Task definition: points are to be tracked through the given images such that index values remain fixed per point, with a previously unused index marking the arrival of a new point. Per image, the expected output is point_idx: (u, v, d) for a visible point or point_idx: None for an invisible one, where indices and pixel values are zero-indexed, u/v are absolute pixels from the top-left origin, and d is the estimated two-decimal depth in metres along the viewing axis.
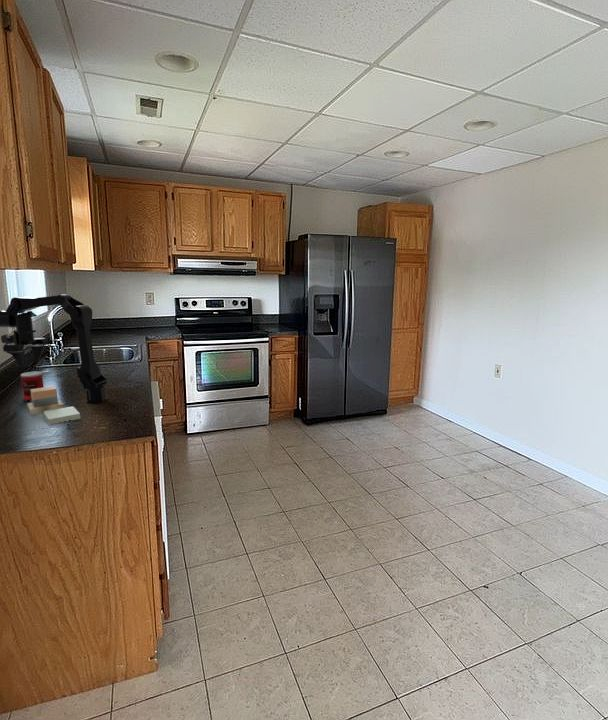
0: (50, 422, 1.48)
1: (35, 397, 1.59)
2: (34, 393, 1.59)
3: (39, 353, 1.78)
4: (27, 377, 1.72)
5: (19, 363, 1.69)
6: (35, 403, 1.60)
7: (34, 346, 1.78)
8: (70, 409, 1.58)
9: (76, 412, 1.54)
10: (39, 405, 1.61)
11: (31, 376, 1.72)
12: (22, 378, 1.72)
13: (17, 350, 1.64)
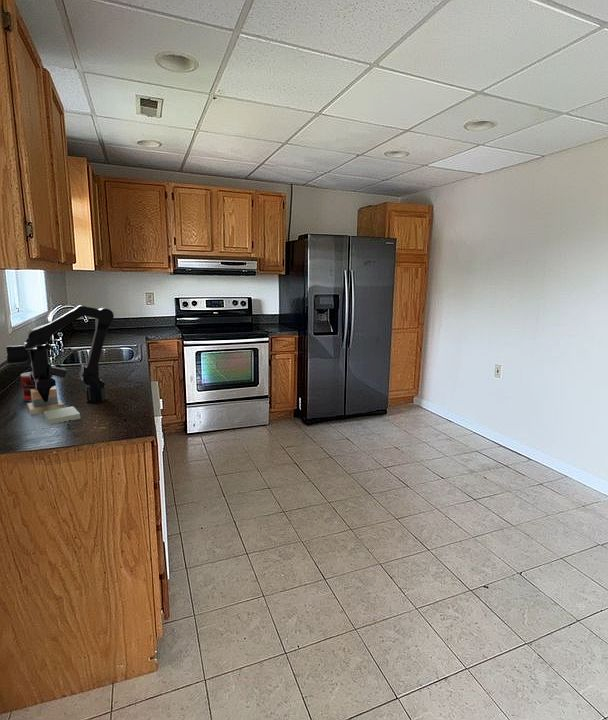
0: (50, 422, 1.48)
1: (35, 397, 1.59)
2: (34, 393, 1.59)
3: None
4: (27, 377, 1.72)
5: None
6: (35, 403, 1.60)
7: None
8: (70, 409, 1.58)
9: (76, 412, 1.54)
10: (39, 405, 1.61)
11: None
12: (22, 378, 1.72)
13: None
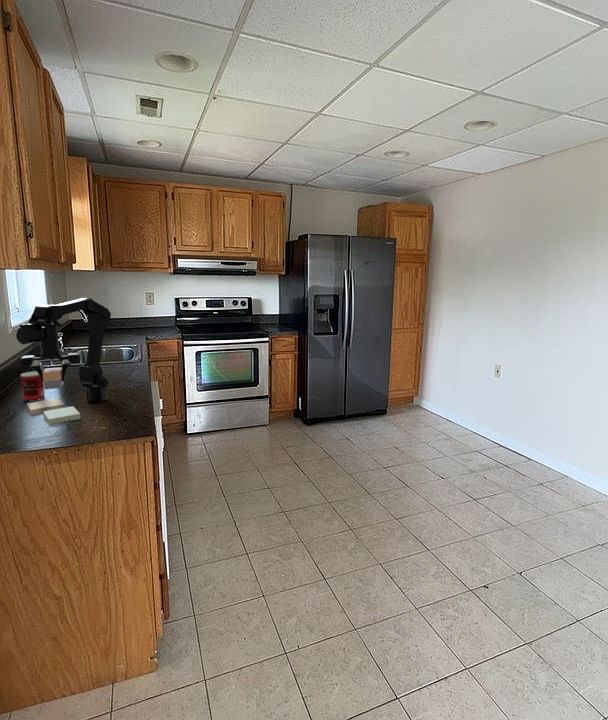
0: (50, 422, 1.48)
1: (61, 377, 1.52)
2: (60, 372, 1.51)
3: (62, 371, 1.53)
4: (27, 377, 1.72)
5: None
6: (61, 383, 1.52)
7: (63, 362, 1.55)
8: (70, 409, 1.58)
9: (76, 412, 1.54)
10: (62, 385, 1.53)
11: (31, 376, 1.72)
12: (22, 378, 1.72)
13: (21, 364, 1.46)
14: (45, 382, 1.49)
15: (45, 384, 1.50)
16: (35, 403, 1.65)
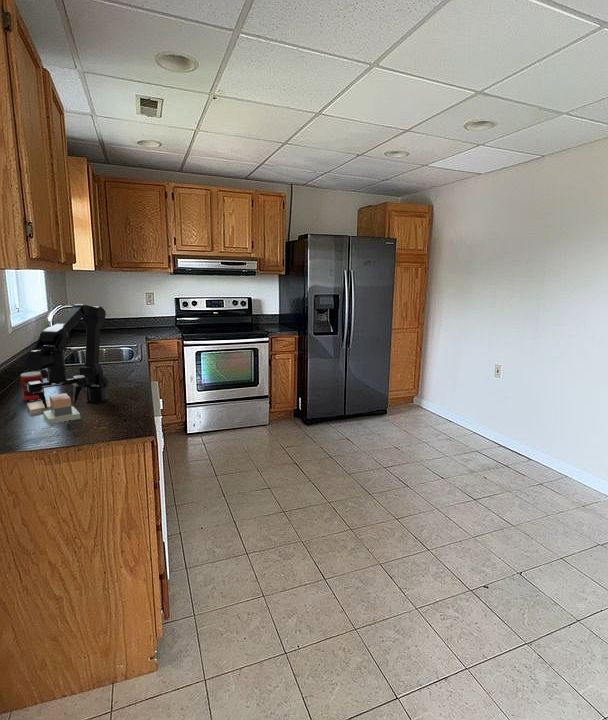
0: (50, 422, 1.48)
1: (70, 403, 1.53)
2: None
3: (74, 394, 1.55)
4: (27, 377, 1.72)
5: None
6: None
7: (74, 385, 1.56)
8: None
9: (76, 412, 1.54)
10: None
11: (31, 376, 1.72)
12: (22, 378, 1.72)
13: (31, 391, 1.45)
14: (56, 409, 1.49)
15: (56, 411, 1.50)
16: (35, 403, 1.65)
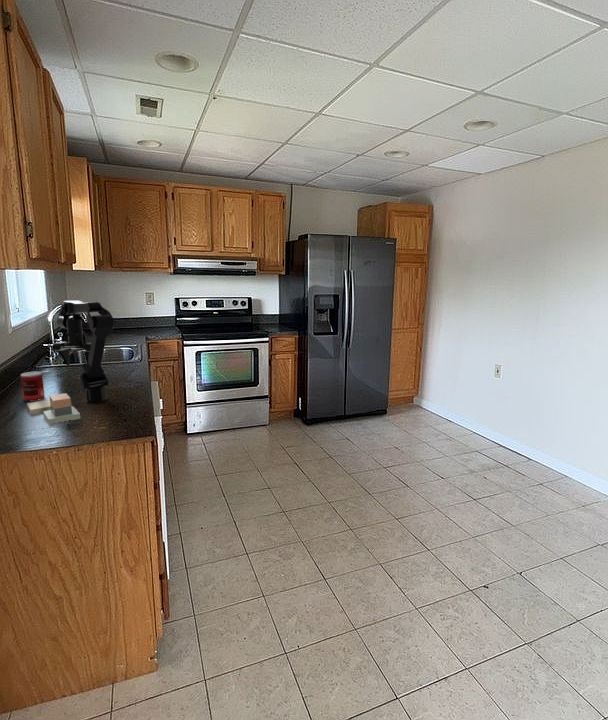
0: (50, 422, 1.48)
1: (70, 403, 1.53)
2: None
3: None
4: (27, 377, 1.72)
5: None
6: None
7: None
8: None
9: (76, 412, 1.54)
10: None
11: (31, 376, 1.72)
12: (22, 378, 1.72)
13: (52, 348, 1.78)
14: (56, 409, 1.49)
15: (56, 411, 1.50)
16: (35, 403, 1.65)
